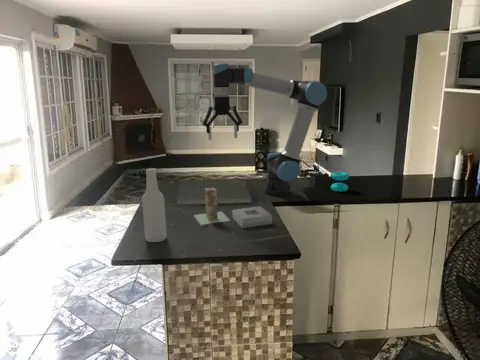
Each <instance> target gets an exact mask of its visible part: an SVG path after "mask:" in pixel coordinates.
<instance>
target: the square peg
mask: <svg viewBox="0 0 480 360" xmlns="http://www.w3.org/2000/svg"><path fill="white" fill-rule="evenodd" d="M204 196H205V197H204V198H205V200H204V201H205V214H206V217H207V219H208V220H211V219H218V216H217V212H218V192H217V189H216V187H208V188H207V187H205V188H204Z"/></svg>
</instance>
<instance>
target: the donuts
mask: <svg viewBox="0 0 480 360" xmlns="http://www.w3.org/2000/svg"><path fill="white" fill-rule="evenodd" d="M330 177H331V178H332V179H333V180H334V181H346V180H348V179H349V177H350V175H349V173H347V172H345V171H335V172H332V173H331V174H330ZM330 190H331V191H333V192H337V191H339V193H343V191H344V192H346V191H348V190H349V186H348V184H346V183H344V182H335V183H332V184H331V186H330Z"/></svg>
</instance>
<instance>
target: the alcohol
mask: <svg viewBox="0 0 480 360" xmlns="http://www.w3.org/2000/svg"><path fill="white" fill-rule="evenodd" d="M156 170H157V169H156V167H155V168H153V167H148V168H147V169H145V174H146V175H145V176H146V180H145V181H146V182H145V183H146V189H145V192H144V193H143V196H142V197H141V198H142V199H141V204H142V206H141V207H142V216H143V228H144V230H143V231H144V239H145V241H146V242H148V243H150V242H153V243H152V244H154V243H155V242H158V243H161V241H162V242H164V241H165V240H166V238H167V237H168V236H167V221H166V207H165V197H164V194H163V193H162V192H161V191H160V190H159V185H158V179H157V171H156ZM155 244H156V243H155Z"/></svg>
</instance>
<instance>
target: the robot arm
mask: <svg viewBox="0 0 480 360" xmlns="http://www.w3.org/2000/svg"><path fill="white" fill-rule="evenodd" d="M212 75H213V94H214V97H213V98H214V102H213V103H214V104H213V105H214V106H208V107H207V112H206V115H205V117H204V119H203V121H202V126H204V127H205V128H206V133H207V134H208V140H210V141H212V127H211V125H212V124H213V122H214V121H215V120H216V118H217V117H218V116H227V117H229V118H230V120H231V121H232V122H233V123H234V125H233V136H234V137H233V138H234V139H238V132H239V130H240V125H242V124H243V121H242V119H241V116H240V114H239V113H238V110H237V107H236V105H231V104H230V96H229V95H230V84H237V85H241V86H245V87H251V88H255V89H259V90H262V91H268V92H272V93H276V94H281V95H284V96H286V97H287V98H289V99H293V100H295V101H297V102H296V104H297V106H298V107H297V108H298V109H297V111H296V114H295V118H294V120H293V123H292V126H291V129H290V132H289V134H288V138H287V141H286V144H285V146H284V149H283V151H282V150H281V152H270V153H268V154H267V157H266V160H267V162H266V163H267V179H266V182H265V186H264V193H265V194H267V195H269V194H273V195H272V196H281V195H280V194H286V195H288V194H287V193H289V194H291V191H292V190H291V185H290V182H293V181H295V180H297V178H299V176H300V174H301V167H300V163H301V161H302V160H301V156H300V154H301V152H302V149H303V146H304V143H305V140H306V137H307V135H308V131H309V130H310V126H311V123H312V120H313V117H314V114H315V113H316V112H317V111H319V109H320V106H321V104H323V103H324V102H325V101H326V99H327V96H328V91H327V88H326V86H325V85H324V83H322V82H321V81H319V80H318V81H317V80H294V79H290V80H285V79H281V78H277V77H274V76H269V75H264V74H260V73H257V72H256V73H255V72H254V71H253V69H252V68H251V67H230V65H229V64H228V63H215V64H213V74H212ZM230 110H231V111H232V112H233V115H234V116H235V117H234V116H233V115H232V114H231V112H230ZM213 111H215V112H214V113H213V114H212V112H213ZM211 114H212V116H211Z"/></svg>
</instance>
